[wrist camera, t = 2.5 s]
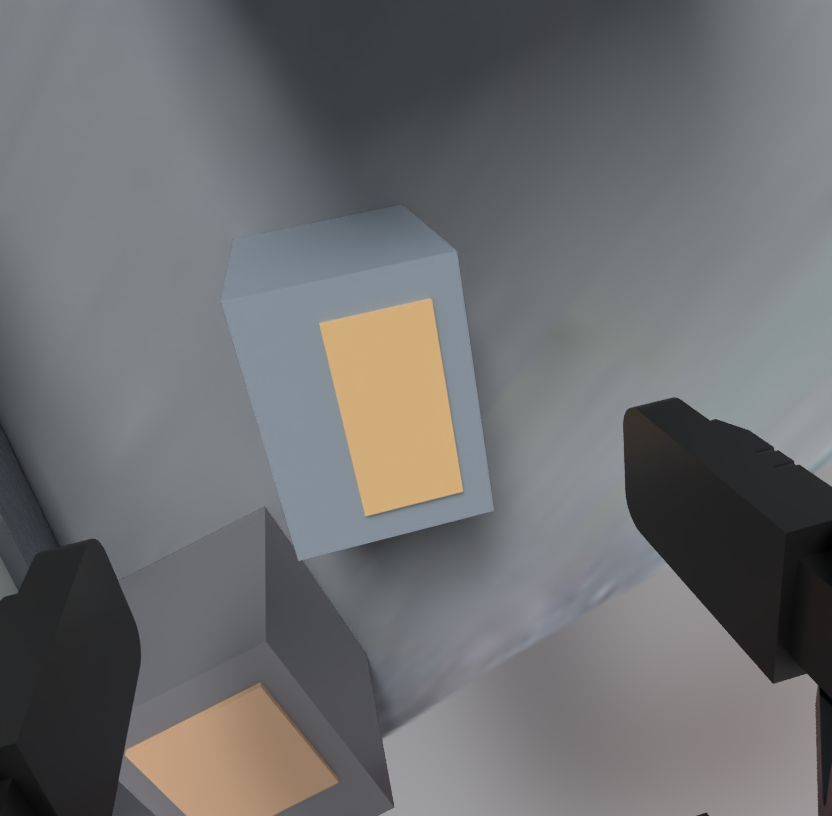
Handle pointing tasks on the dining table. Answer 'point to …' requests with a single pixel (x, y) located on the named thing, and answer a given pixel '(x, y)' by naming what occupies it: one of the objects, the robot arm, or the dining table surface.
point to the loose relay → (248, 686)
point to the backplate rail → (19, 518)
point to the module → (359, 376)
